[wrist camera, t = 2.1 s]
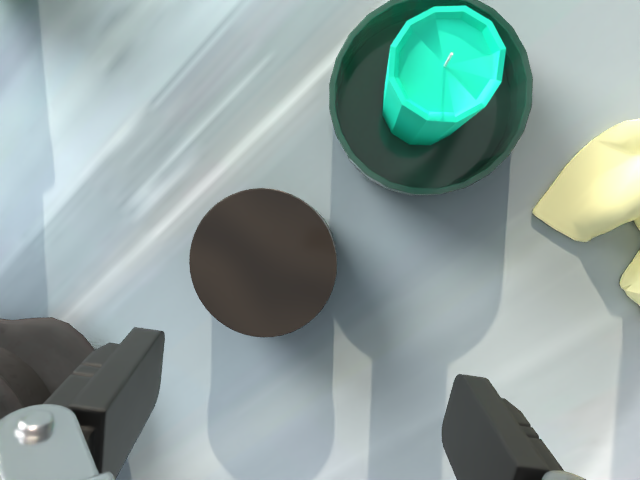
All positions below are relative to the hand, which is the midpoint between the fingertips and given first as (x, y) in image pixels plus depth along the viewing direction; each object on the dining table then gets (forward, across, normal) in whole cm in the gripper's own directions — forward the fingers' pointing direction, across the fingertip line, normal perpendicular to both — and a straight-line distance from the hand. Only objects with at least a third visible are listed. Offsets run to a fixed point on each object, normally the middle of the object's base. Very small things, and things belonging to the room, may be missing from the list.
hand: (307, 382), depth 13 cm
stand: (+24, +2, +4) cm, 24 cm away
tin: (+24, -7, -9) cm, 27 cm away
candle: (+24, -7, -9) cm, 27 cm away
